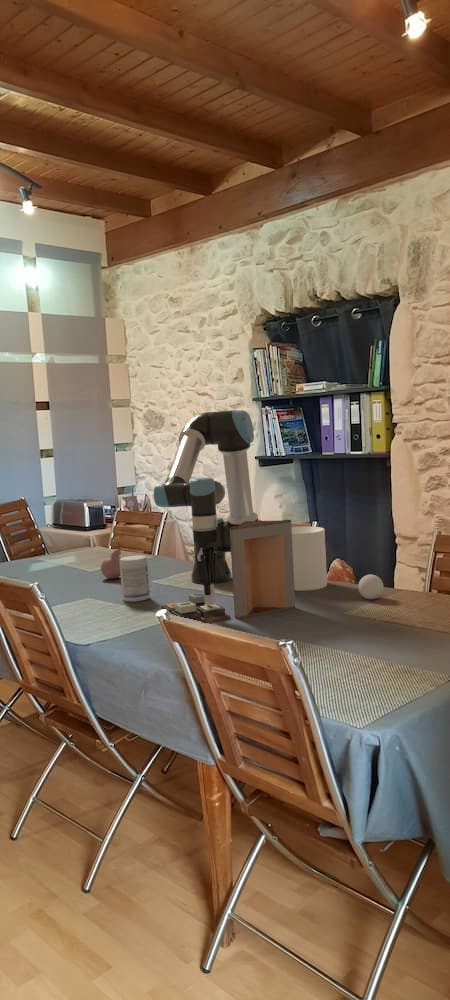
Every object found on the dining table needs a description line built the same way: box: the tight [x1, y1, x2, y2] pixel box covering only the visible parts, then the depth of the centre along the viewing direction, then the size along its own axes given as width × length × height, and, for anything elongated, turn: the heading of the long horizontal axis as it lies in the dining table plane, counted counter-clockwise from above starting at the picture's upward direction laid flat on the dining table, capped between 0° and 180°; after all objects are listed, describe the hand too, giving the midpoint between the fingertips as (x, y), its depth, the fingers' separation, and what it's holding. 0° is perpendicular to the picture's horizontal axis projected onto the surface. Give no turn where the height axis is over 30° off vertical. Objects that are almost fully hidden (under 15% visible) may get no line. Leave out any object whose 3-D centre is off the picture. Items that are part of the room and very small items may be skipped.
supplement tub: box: [120, 555, 151, 603], centre depth 263 cm, size 10×10×15 cm
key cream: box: [199, 603, 222, 611], centre depth 233 cm, size 5×5×2 cm
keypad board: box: [161, 600, 231, 624], centre depth 236 cm, size 17×19×3 cm
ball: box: [357, 573, 384, 600], centre depth 244 cm, size 8×8×8 cm
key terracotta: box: [164, 601, 182, 609], centre depth 238 cm, size 5×5×2 cm
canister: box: [291, 526, 328, 592], centre depth 269 cm, size 16×16×20 cm
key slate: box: [188, 591, 205, 604], centre depth 241 cm, size 5×5×2 cm
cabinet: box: [230, 519, 296, 620], centre depth 237 cm, size 21×10×28 cm, turn 117°
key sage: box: [175, 601, 196, 614], centre depth 230 cm, size 5×5×2 cm
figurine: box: [100, 548, 122, 580], centre depth 302 cm, size 9×11×12 cm
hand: (209, 604), depth 233 cm, fingers closed
